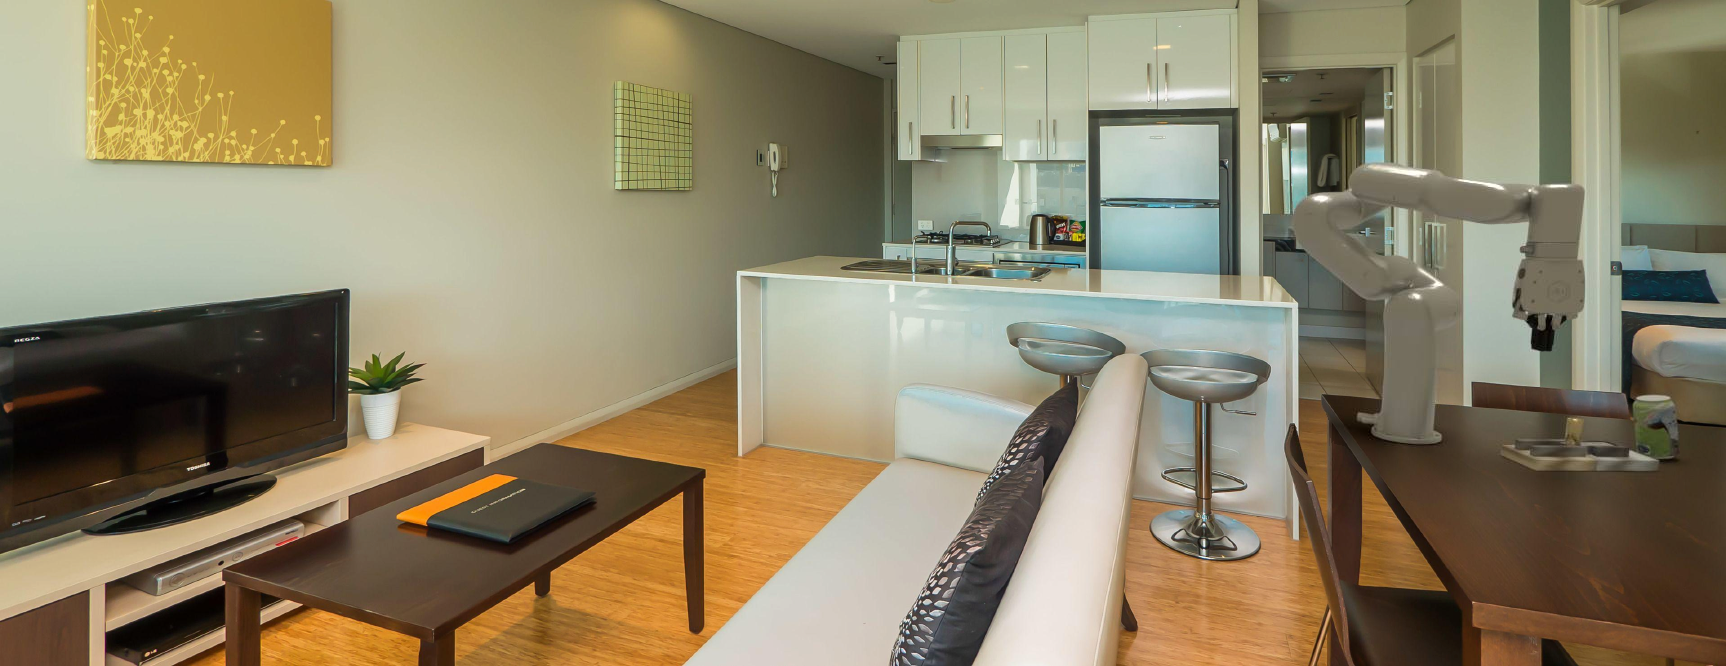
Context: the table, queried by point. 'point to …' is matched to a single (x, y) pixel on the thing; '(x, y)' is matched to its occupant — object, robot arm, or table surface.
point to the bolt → (1578, 436)
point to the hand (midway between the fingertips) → (1541, 350)
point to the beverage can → (1656, 426)
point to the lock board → (1576, 456)
